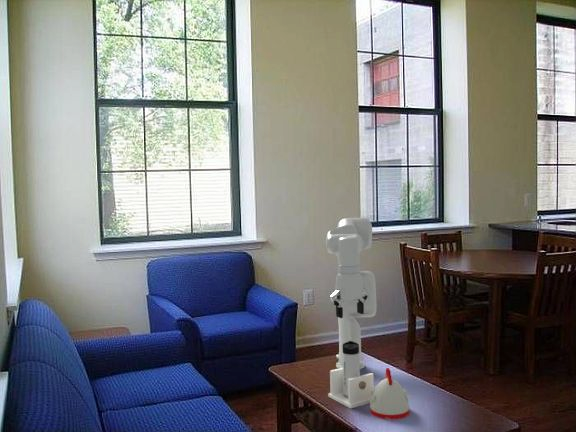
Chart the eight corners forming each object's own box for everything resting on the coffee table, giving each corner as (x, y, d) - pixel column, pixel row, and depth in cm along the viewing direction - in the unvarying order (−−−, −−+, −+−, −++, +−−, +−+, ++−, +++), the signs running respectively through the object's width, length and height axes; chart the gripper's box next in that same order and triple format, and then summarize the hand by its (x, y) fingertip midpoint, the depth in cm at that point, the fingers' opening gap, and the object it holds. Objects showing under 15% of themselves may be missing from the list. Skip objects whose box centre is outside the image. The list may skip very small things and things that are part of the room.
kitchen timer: (405, 403, 209) (404, 363, 208) (413, 418, 195) (412, 376, 194) (367, 404, 209) (366, 364, 208) (372, 420, 195) (371, 377, 194)
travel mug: (359, 392, 217) (358, 340, 216) (360, 399, 211) (359, 345, 210) (343, 392, 218) (342, 340, 217) (343, 398, 211) (342, 345, 210)
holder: (328, 396, 217) (327, 370, 217) (353, 389, 223) (352, 364, 223) (350, 408, 205) (350, 380, 205) (376, 401, 211) (376, 374, 211)
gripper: (361, 266, 219) (362, 310, 220) (324, 271, 210) (325, 316, 211) (373, 268, 213) (374, 313, 214) (336, 273, 204) (337, 321, 205)
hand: (350, 315), depth 213 cm, fingers open, 9 cm apart
